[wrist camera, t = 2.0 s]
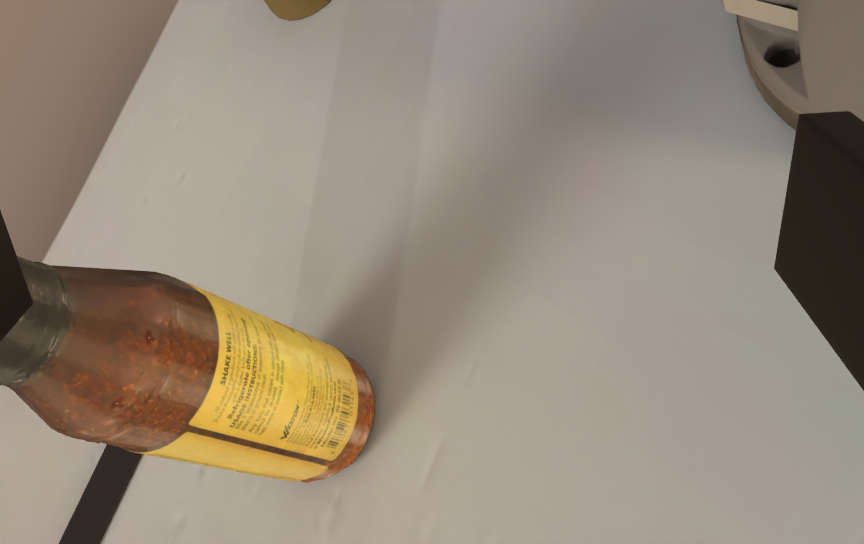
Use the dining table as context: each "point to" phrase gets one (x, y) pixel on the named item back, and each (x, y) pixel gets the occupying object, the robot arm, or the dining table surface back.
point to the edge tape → (101, 496)
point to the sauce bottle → (183, 375)
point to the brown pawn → (295, 8)
